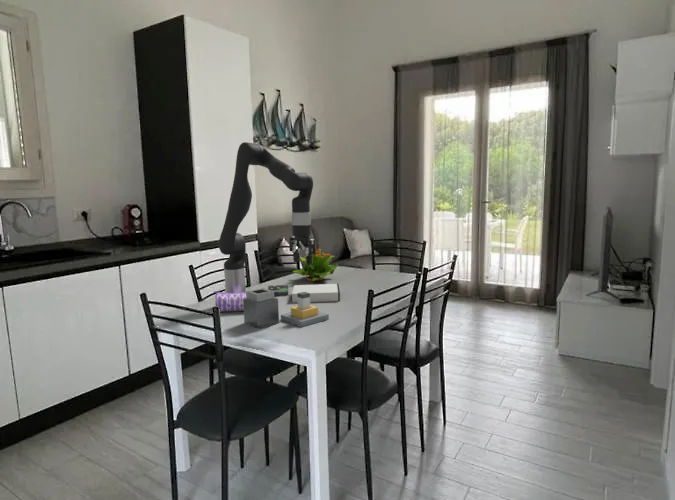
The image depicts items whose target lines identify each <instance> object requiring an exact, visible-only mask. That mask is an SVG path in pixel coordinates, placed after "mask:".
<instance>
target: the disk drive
mask: <svg viewBox="0 0 675 500" xmlns="http://www.w3.org/2000/svg"><path fill="white" fill-rule="evenodd" d="M267 289H268V290H271V291H274V297H281V296H283V297H284V296H285V297H286V296H289V287H288V284H280V285H279V284H276V285H268V287H267Z"/></svg>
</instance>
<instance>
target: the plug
mask: <svg viewBox="0 0 675 500" xmlns="http://www.w3.org/2000/svg"><path fill="white" fill-rule="evenodd" d="M297 295H298V302H297V306H298V308H299V309H302V310H305V309H309V308H310V305H311V302H310V293H307V292H301V293H297Z"/></svg>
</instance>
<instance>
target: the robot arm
mask: <svg viewBox="0 0 675 500" xmlns="http://www.w3.org/2000/svg"><path fill="white" fill-rule="evenodd" d="M236 154H237V155H236V159H235V172H234V177H233V178H234V179H233V182H232V183H233V184H232V187H231V191H230V197H229V202H228V206H227V207H228V208H227V211H226V216H225V219H224V220H225V221H224V224H223V228H222V230H221V234H220V236H219V240H218V248H219V251H220V253H222V254H223V255H224V256H225V255H226V256H227V255H228V258H227V260H225V262H223V271H224V273H223V274H224V293H241V292H247V290H246V287H247V286H246V276H245V275H246V274H245V263H246V257H247V255H246V254H247V253H246V250H247V249H246V246H247V245H246V240H245V237H244V236H243V234H241V233H240V232H238V229H239V227H240V225H241V223H242V222H243V220H244V219H245V217H246V216H247V214H248V212H249V211H250V207H251V204H252V199H253V193H252V188H251V185H250V183H249V180H248V179H249V177H248V173H249V167H250V166H260V167H263V168H266V169H268V171H269V173H270V175H272V176H273V177H274V178H276V179H277V180H279V181H280V182H282V183H283V184H284V185H285V187H286V188H287V189H288V190H290V191H293V192H298V195H297V196H295V197H294V198H292V200H291V211H292V212H291V233H292V236H289V240H288V241H289V246H288V247H289V252H291V253H292V255H293V258H292V259H293V263H299V261H300V253H299V251H300V250H303V252H304V253H305V256H306V264H307V265H311V264H312V256H313V254H316V252H317V251H316V240H315V238H312V239H310V236H311V235H312V219H311V210H310V209H311V207H310V206H311V205H310V202H311V197H312V194H313V187H314V179H313V176H312V175H311V174H310V173H308V172H296V170H295V169H294V167H292V166H291V165H289V164H288V163H286V162H284V161H282V160H280V159H279V158H277V157H276V156H274V154H272V153H271V152H270V151H268V149H266V148H265V147H264V146H263V145H261V144H260V143H259V144H258V143H254V142H242V143H241V144H240V145H239V147H238V149H237V153H236ZM308 252H309V253H308Z"/></svg>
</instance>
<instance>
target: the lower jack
mask: <svg viewBox="0 0 675 500" xmlns="http://www.w3.org/2000/svg"><path fill="white" fill-rule="evenodd" d="M280 320H282V321H284V322H287V323H290V324H292V325H294V326H298V327H300V328H303V327H306V326H309V325H312V324H317V323H319V322H323V321H327V320H330V319H329V313H326V312H322V311H320V310H319V307H318V306H314V305H311V304H310V308H309V309H305V310H302V309H299V308H298V305H296V306H291V307H290V312H286V313H282V314H280Z"/></svg>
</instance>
